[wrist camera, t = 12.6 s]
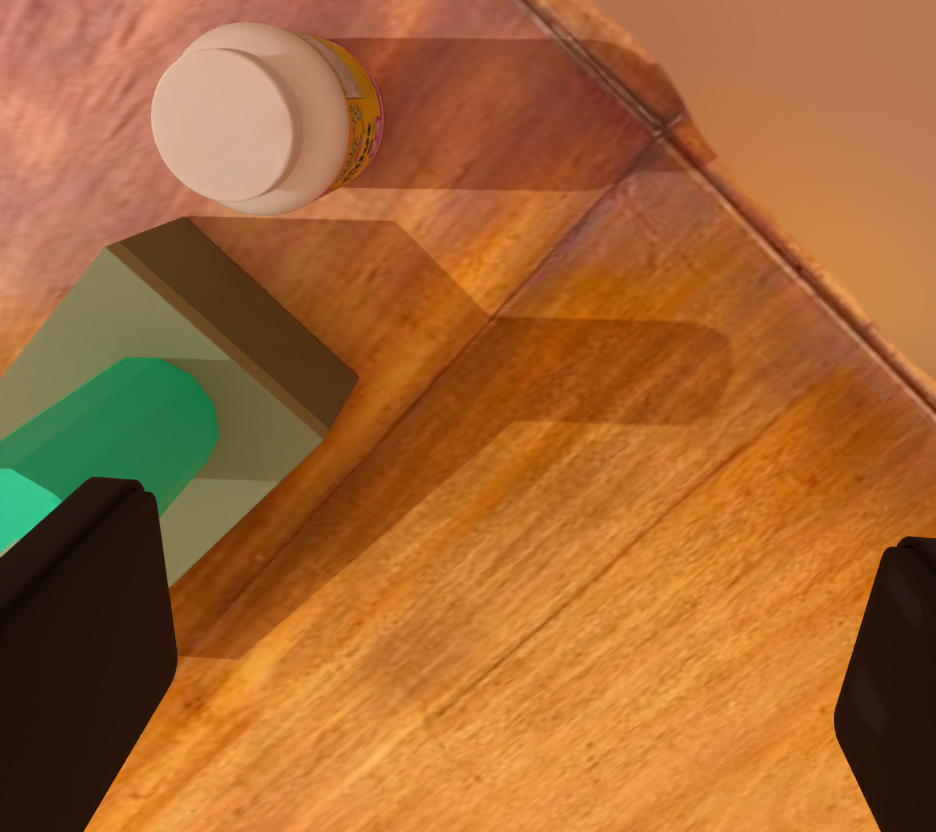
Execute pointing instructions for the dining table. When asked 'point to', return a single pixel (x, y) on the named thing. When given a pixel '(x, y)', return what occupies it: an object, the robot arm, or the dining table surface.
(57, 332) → the shelf
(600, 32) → the dining table surface
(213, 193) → the supplement bottle
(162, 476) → the candle
